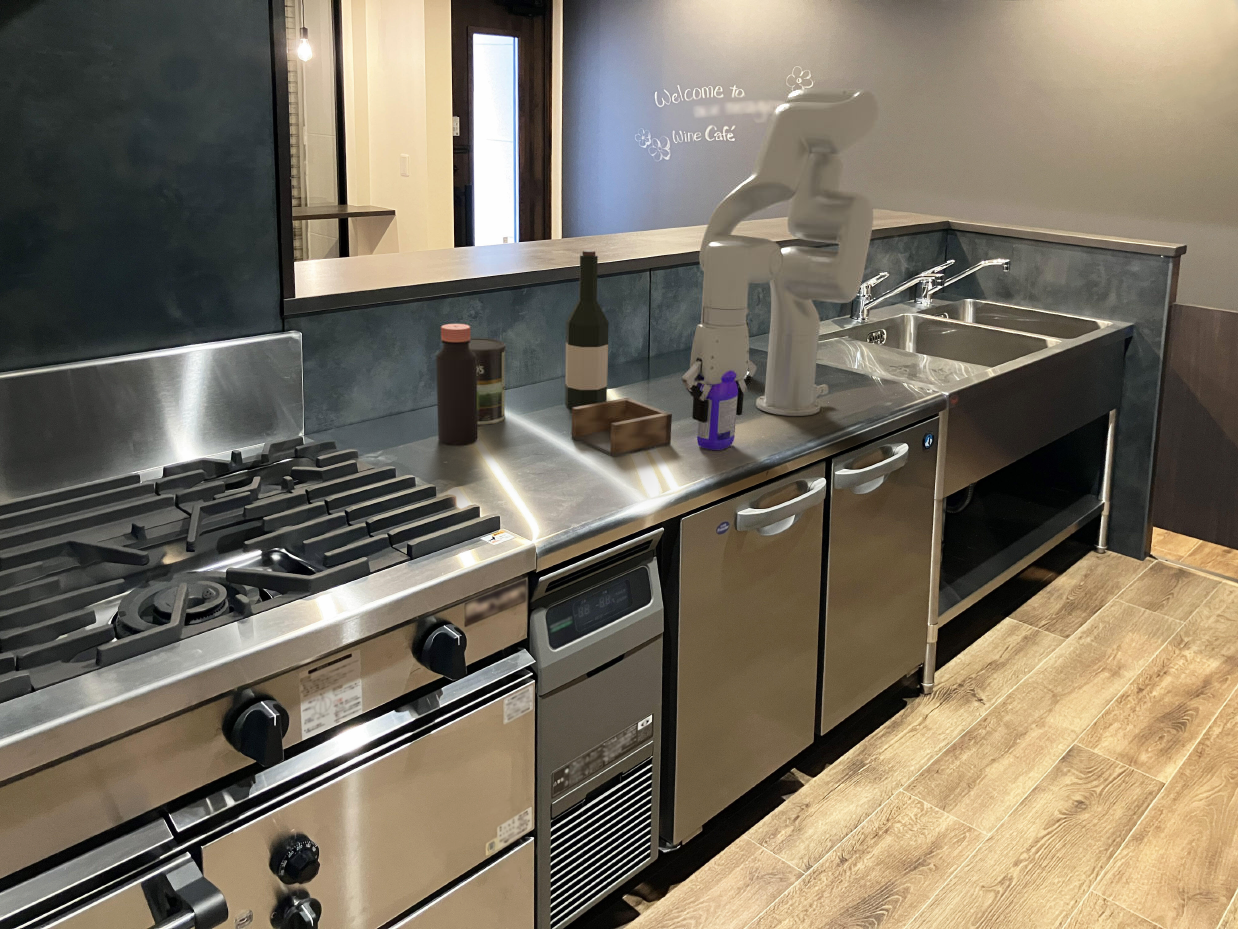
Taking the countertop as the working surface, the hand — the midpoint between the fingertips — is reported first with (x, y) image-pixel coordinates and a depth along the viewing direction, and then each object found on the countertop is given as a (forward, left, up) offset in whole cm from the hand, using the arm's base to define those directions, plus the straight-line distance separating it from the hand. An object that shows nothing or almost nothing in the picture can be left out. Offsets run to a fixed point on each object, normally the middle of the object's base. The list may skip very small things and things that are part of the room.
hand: (717, 416), depth 181 cm
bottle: (0, 0, -6) cm, 6 cm away
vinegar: (+36, -27, -6) cm, 45 cm away
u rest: (+12, -11, -5) cm, 17 cm away
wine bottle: (+4, -33, -6) cm, 34 cm away
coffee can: (+26, -37, -6) cm, 46 cm away
